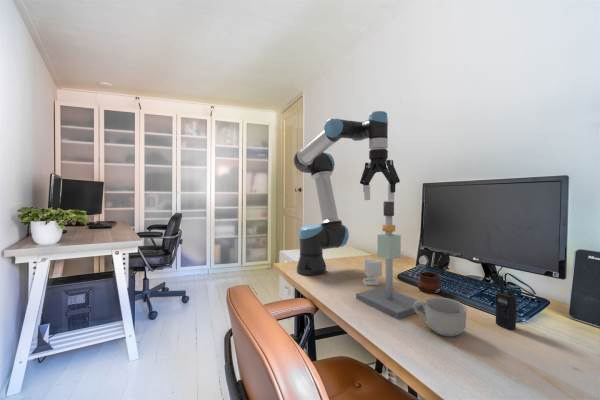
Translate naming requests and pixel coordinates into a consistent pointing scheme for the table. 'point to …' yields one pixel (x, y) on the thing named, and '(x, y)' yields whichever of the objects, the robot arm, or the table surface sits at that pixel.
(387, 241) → the sleeve
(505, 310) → the two-way radio
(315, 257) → the robot arm
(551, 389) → the table surface
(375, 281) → the security camera
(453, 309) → the teacup
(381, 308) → the post
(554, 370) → the table surface
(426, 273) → the ceramic pot
